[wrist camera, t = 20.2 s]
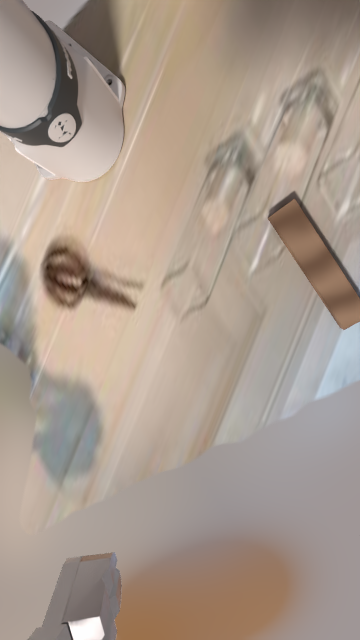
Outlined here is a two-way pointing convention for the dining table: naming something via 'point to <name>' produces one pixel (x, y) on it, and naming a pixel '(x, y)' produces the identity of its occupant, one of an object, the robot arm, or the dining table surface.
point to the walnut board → (317, 264)
